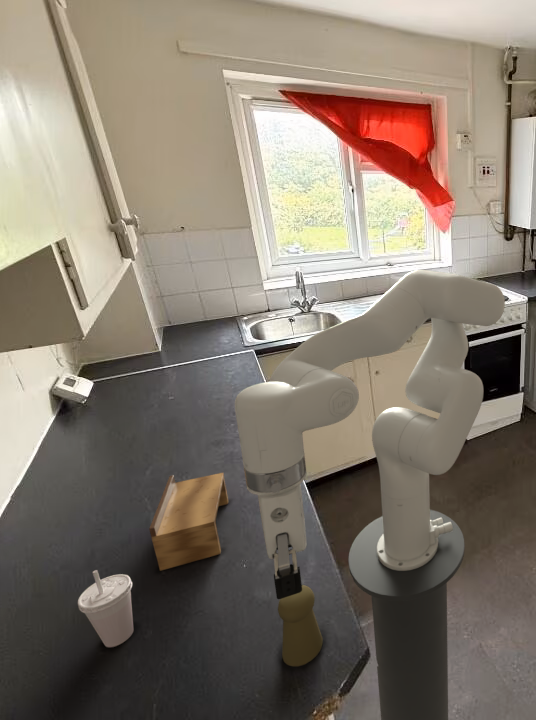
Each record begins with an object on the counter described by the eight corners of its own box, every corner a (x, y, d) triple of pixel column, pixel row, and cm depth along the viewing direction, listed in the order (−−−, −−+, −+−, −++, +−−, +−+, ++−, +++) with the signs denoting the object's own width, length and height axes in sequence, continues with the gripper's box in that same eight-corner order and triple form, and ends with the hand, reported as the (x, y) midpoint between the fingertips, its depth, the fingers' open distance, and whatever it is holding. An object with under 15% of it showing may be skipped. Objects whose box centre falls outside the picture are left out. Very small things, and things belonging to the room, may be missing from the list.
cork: (325, 654, 67) (318, 601, 64) (283, 673, 65) (274, 619, 61) (319, 623, 72) (313, 572, 69) (280, 639, 70) (272, 587, 66)
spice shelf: (228, 500, 102) (221, 465, 99) (220, 553, 86) (212, 513, 83) (178, 513, 97) (169, 475, 94) (159, 571, 82) (149, 528, 79)
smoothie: (81, 656, 66) (56, 586, 62) (115, 618, 72) (94, 552, 68) (123, 655, 67) (101, 585, 63) (153, 617, 73) (135, 552, 69)
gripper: (309, 499, 53) (320, 606, 58) (302, 435, 68) (311, 524, 73) (240, 516, 50) (258, 627, 54) (248, 445, 64) (262, 538, 69)
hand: (288, 568), depth 63 cm, fingers open, 9 cm apart
